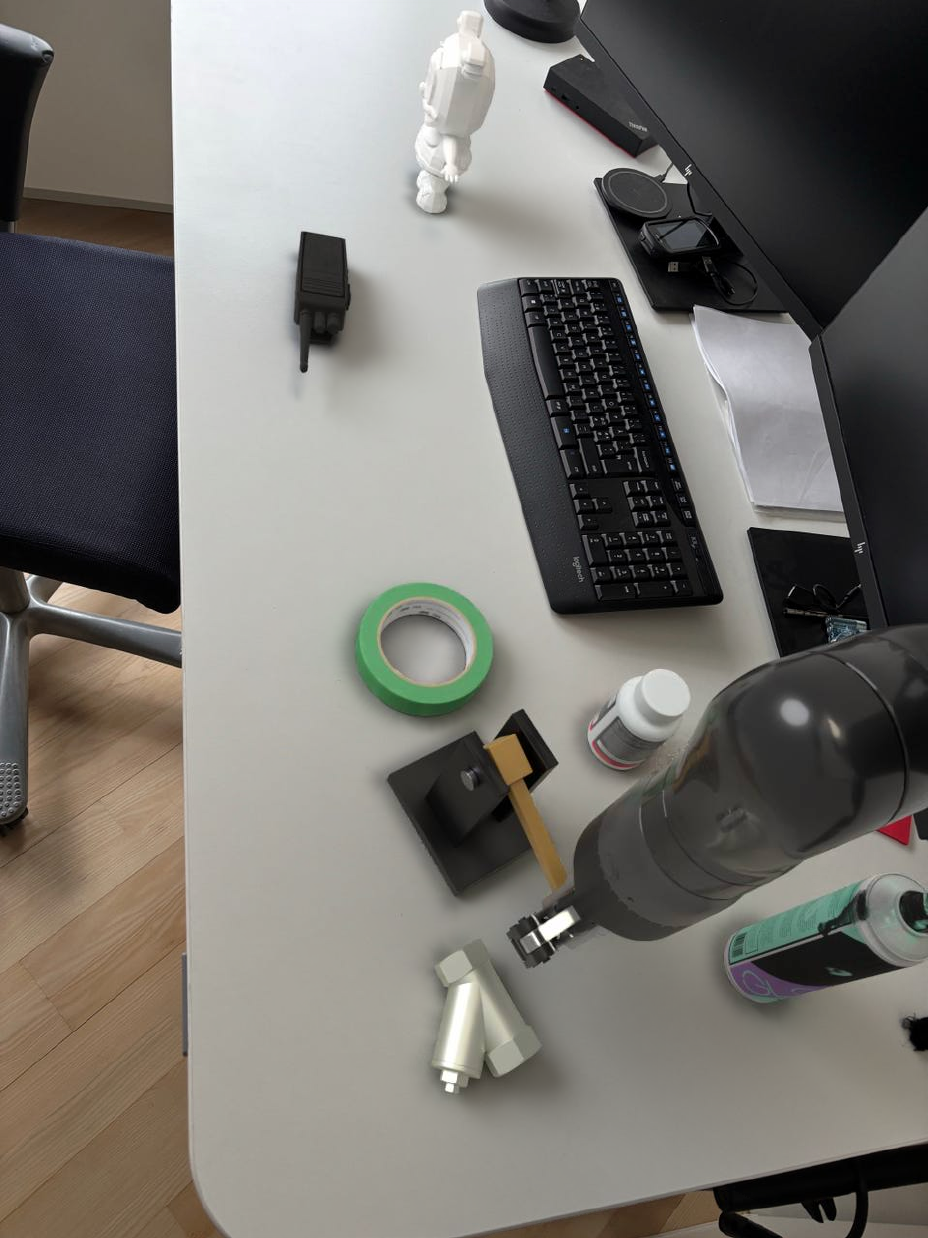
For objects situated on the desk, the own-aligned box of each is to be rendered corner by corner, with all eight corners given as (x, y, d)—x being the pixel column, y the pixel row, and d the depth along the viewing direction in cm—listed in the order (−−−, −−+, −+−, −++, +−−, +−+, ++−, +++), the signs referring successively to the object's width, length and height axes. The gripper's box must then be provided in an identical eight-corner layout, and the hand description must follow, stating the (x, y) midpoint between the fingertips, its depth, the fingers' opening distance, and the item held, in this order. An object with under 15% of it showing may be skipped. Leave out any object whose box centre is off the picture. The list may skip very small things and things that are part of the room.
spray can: (737, 1010, 68) (914, 964, 51) (713, 934, 70) (875, 866, 54) (799, 996, 70) (990, 947, 53) (773, 922, 72) (949, 854, 55)
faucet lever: (596, 901, 63) (615, 903, 61) (539, 939, 61) (557, 942, 58) (516, 728, 63) (532, 724, 61) (456, 759, 61) (471, 756, 59)
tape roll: (361, 719, 72) (366, 706, 70) (348, 598, 77) (353, 581, 75) (495, 713, 75) (504, 700, 73) (474, 597, 80) (482, 581, 78)
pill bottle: (653, 767, 76) (709, 721, 68) (595, 774, 75) (644, 728, 66) (635, 708, 79) (686, 657, 70) (578, 714, 77) (624, 662, 69)
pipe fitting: (448, 1107, 60) (531, 1049, 63) (459, 1108, 57) (546, 1046, 60) (389, 995, 63) (471, 943, 65) (396, 989, 60) (482, 935, 62)
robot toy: (397, 246, 100) (436, 72, 84) (398, 134, 110) (433, -41, 94) (463, 258, 102) (514, 90, 86) (458, 147, 112) (503, -22, 96)
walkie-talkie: (364, 251, 95) (366, 380, 84) (317, 280, 98) (313, 410, 86) (327, 205, 91) (323, 335, 80) (278, 237, 93) (269, 367, 82)
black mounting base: (539, 844, 71) (601, 789, 60) (454, 896, 67) (503, 847, 56) (471, 735, 74) (518, 665, 63) (386, 779, 70) (420, 712, 59)
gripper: (606, 991, 44) (507, 1031, 58) (800, 850, 51) (668, 917, 65) (521, 855, 47) (446, 925, 61) (717, 737, 53) (608, 825, 67)
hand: (561, 921), depth 63 cm, fingers closed on faucet lever, 5 cm apart
